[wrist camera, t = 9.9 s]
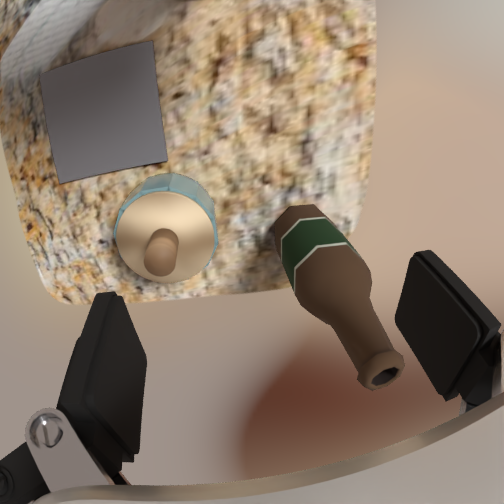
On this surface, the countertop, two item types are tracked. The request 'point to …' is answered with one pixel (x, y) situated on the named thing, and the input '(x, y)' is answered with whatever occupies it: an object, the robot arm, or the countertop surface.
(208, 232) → the lid
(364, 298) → the beer bottle
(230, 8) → the countertop surface
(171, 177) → the bowl
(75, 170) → the mat
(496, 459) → the robot arm
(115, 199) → the countertop surface
